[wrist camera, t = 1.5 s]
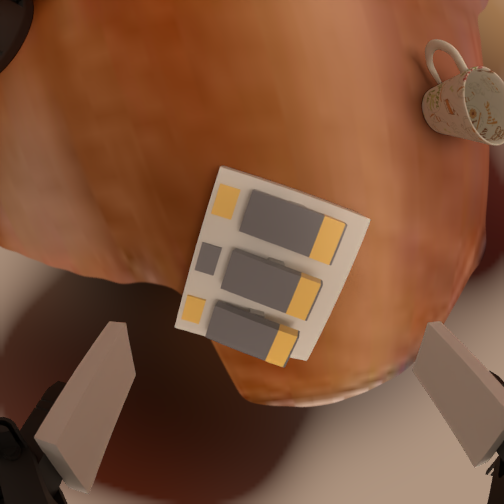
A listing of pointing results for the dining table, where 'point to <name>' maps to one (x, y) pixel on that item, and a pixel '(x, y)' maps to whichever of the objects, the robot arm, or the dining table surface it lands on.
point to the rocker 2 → (271, 284)
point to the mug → (465, 100)
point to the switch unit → (229, 237)
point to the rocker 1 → (293, 226)
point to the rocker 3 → (252, 334)
